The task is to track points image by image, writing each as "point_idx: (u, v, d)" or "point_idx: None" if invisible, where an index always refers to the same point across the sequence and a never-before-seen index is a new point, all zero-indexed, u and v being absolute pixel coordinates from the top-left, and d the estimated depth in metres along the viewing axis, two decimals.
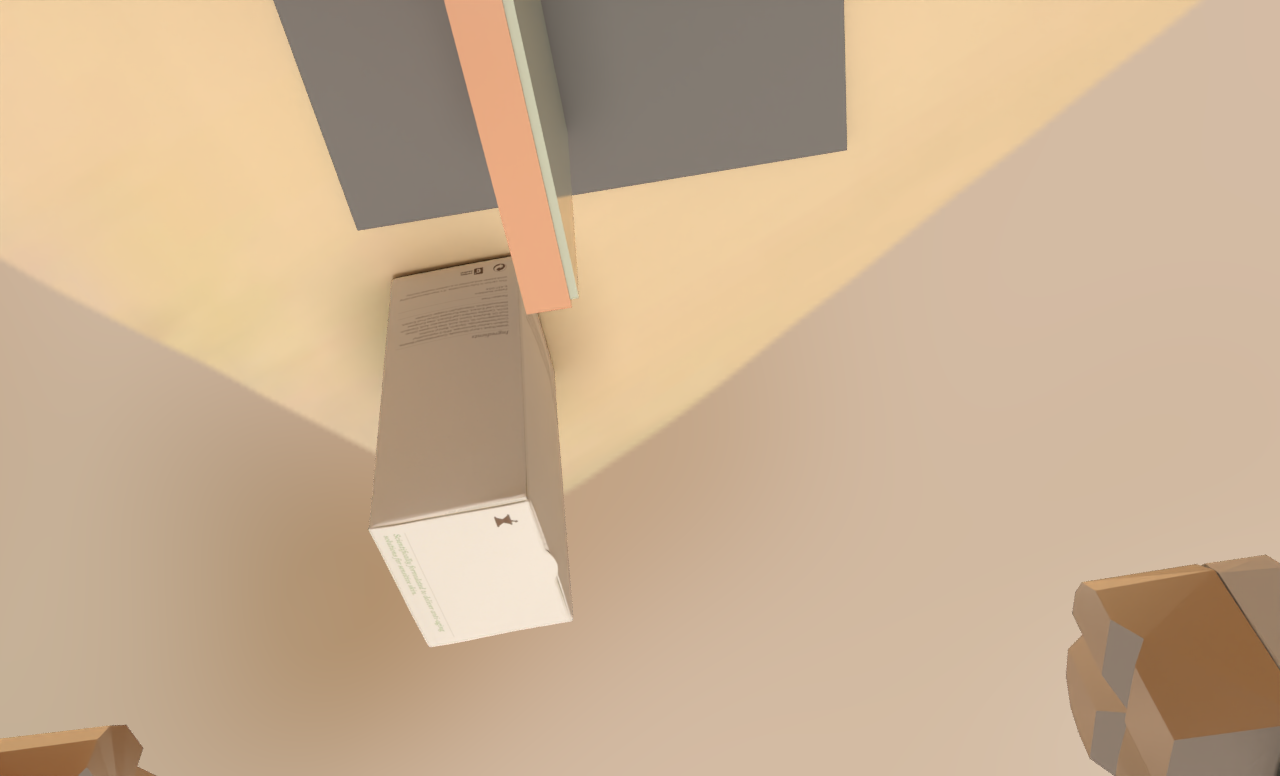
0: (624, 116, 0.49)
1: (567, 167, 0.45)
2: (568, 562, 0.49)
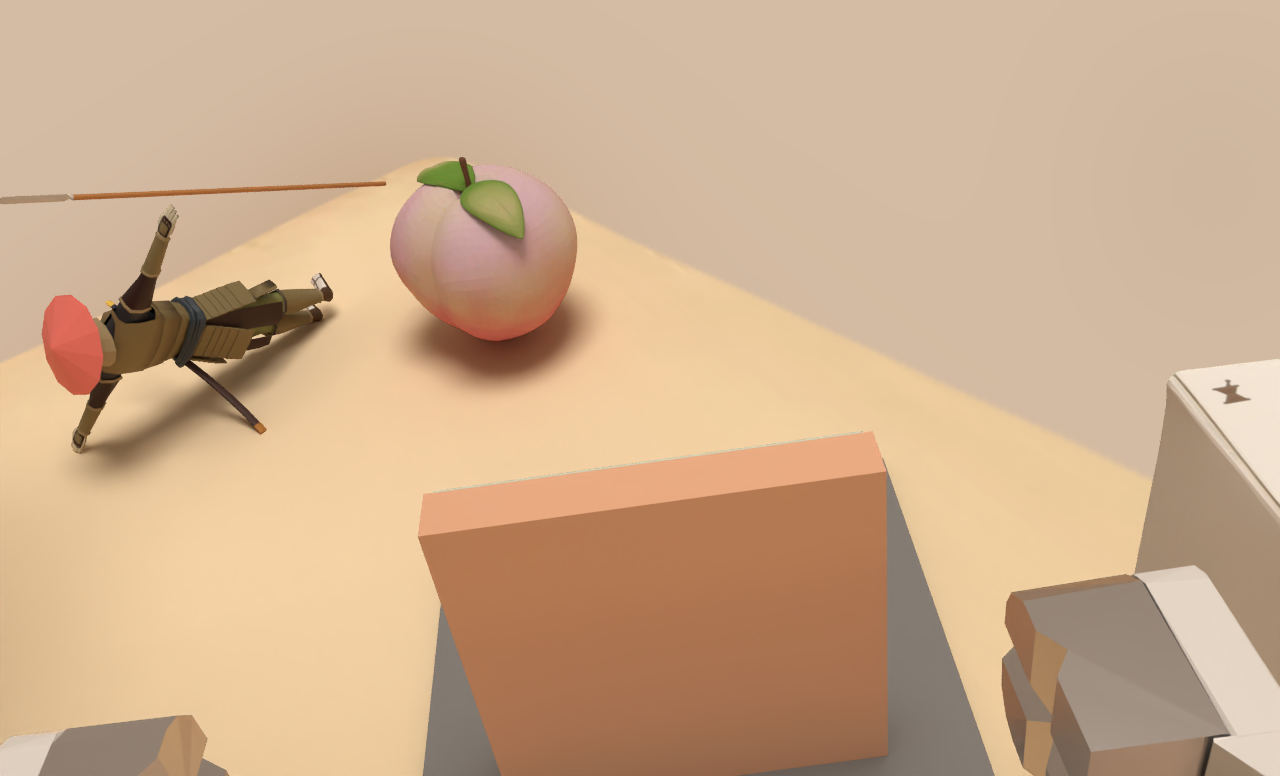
0: None
1: None
2: None
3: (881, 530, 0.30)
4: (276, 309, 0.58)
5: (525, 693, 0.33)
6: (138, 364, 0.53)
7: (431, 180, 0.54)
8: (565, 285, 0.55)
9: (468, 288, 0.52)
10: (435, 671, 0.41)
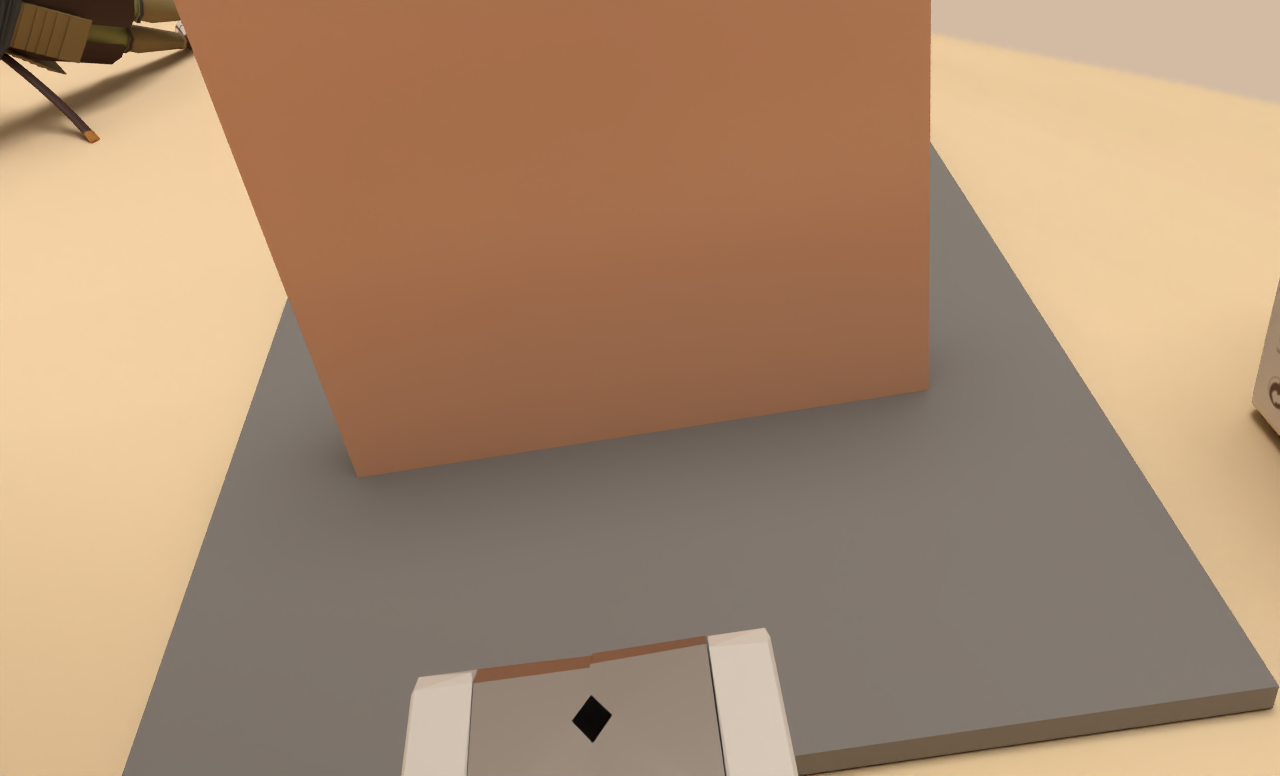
0: None
1: None
2: None
3: None
4: (126, 5, 0.46)
5: (353, 247, 0.21)
6: None
7: None
8: None
9: None
10: (273, 344, 0.29)
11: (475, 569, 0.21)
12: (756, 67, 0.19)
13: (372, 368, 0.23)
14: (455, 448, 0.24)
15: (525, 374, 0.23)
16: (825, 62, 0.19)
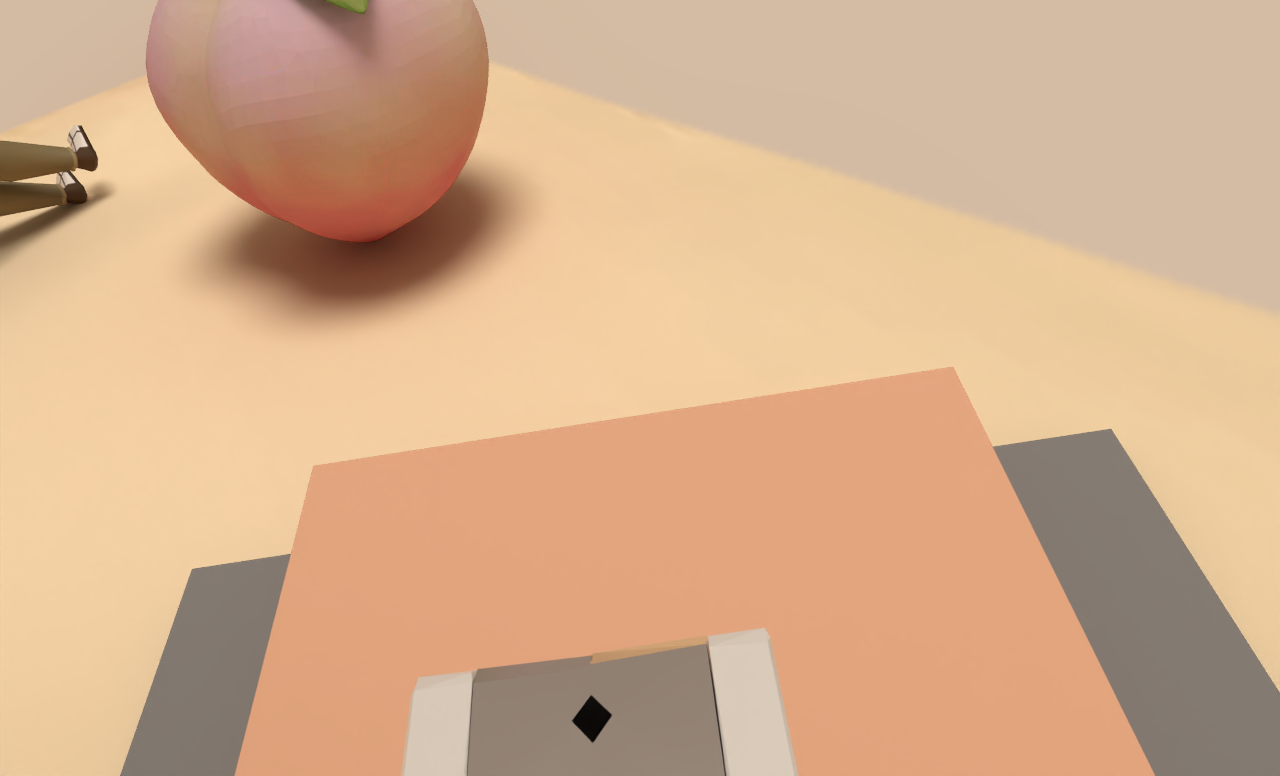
0: None
1: None
2: None
3: (979, 439, 0.20)
4: None
5: (338, 757, 0.16)
6: None
7: None
8: (464, 130, 0.30)
9: (266, 118, 0.27)
10: None
11: None
12: (845, 568, 0.18)
13: None
14: None
15: None
16: (923, 562, 0.17)
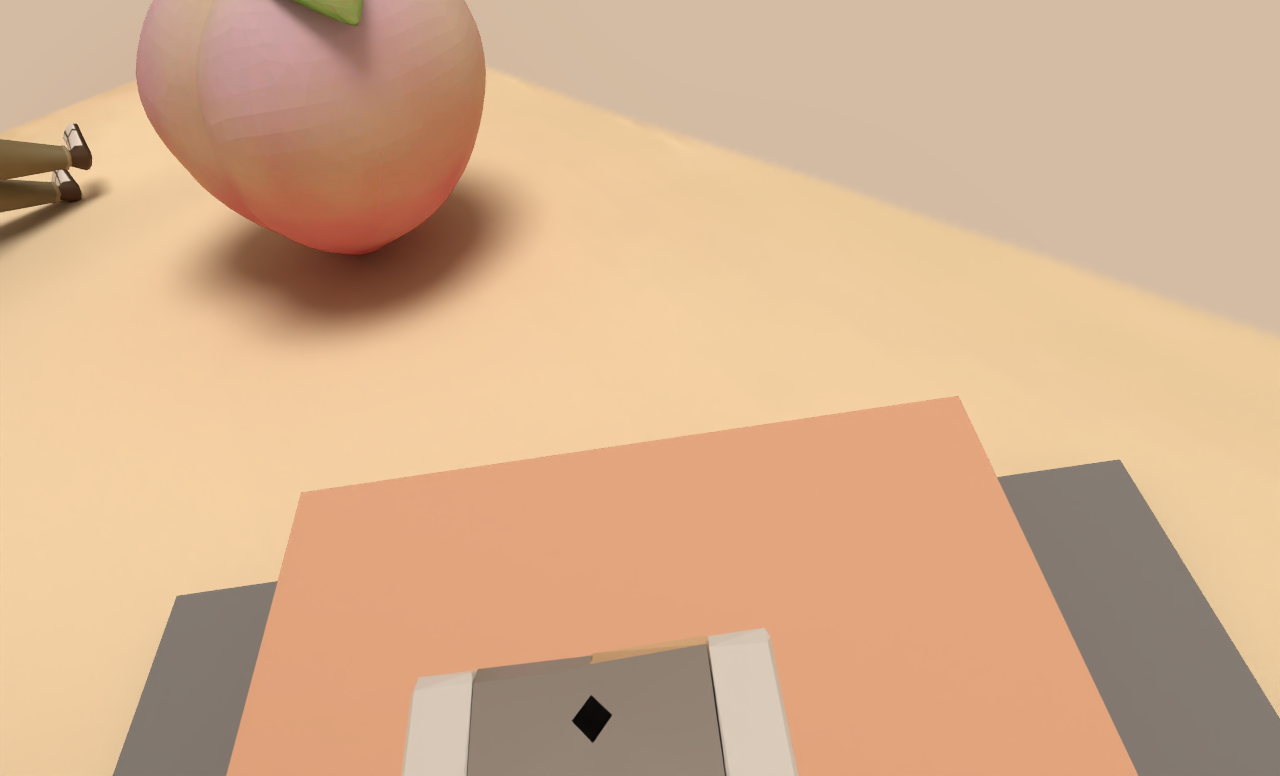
0: None
1: None
2: None
3: (985, 473, 0.19)
4: None
5: None
6: None
7: None
8: (460, 142, 0.29)
9: (258, 131, 0.26)
10: None
11: None
12: (846, 609, 0.17)
13: None
14: None
15: None
16: (927, 604, 0.17)
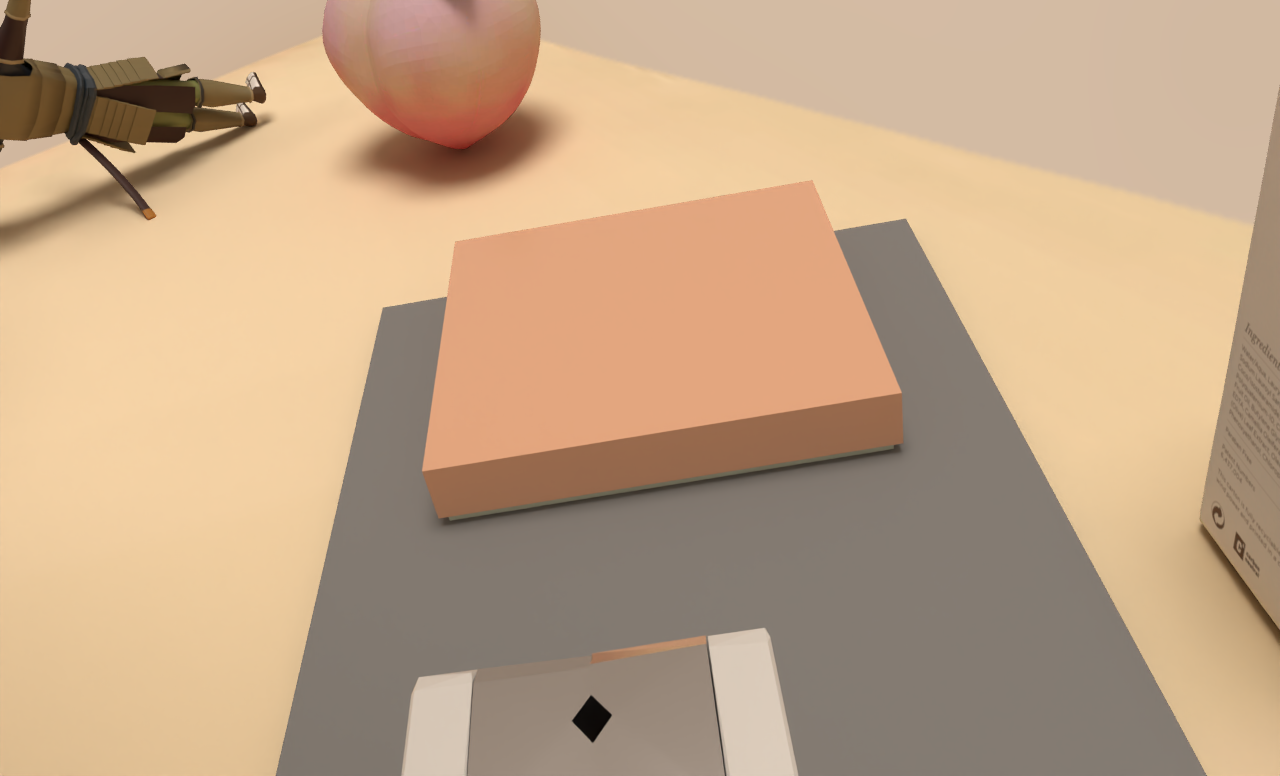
0: None
1: None
2: None
3: (820, 210, 0.36)
4: (188, 94, 0.53)
5: (489, 344, 0.33)
6: (16, 128, 0.49)
7: None
8: (526, 69, 0.47)
9: (409, 59, 0.44)
10: (351, 453, 0.33)
11: None
12: (742, 263, 0.34)
13: (470, 401, 0.31)
14: (508, 447, 0.29)
15: (577, 399, 0.30)
16: (781, 259, 0.34)
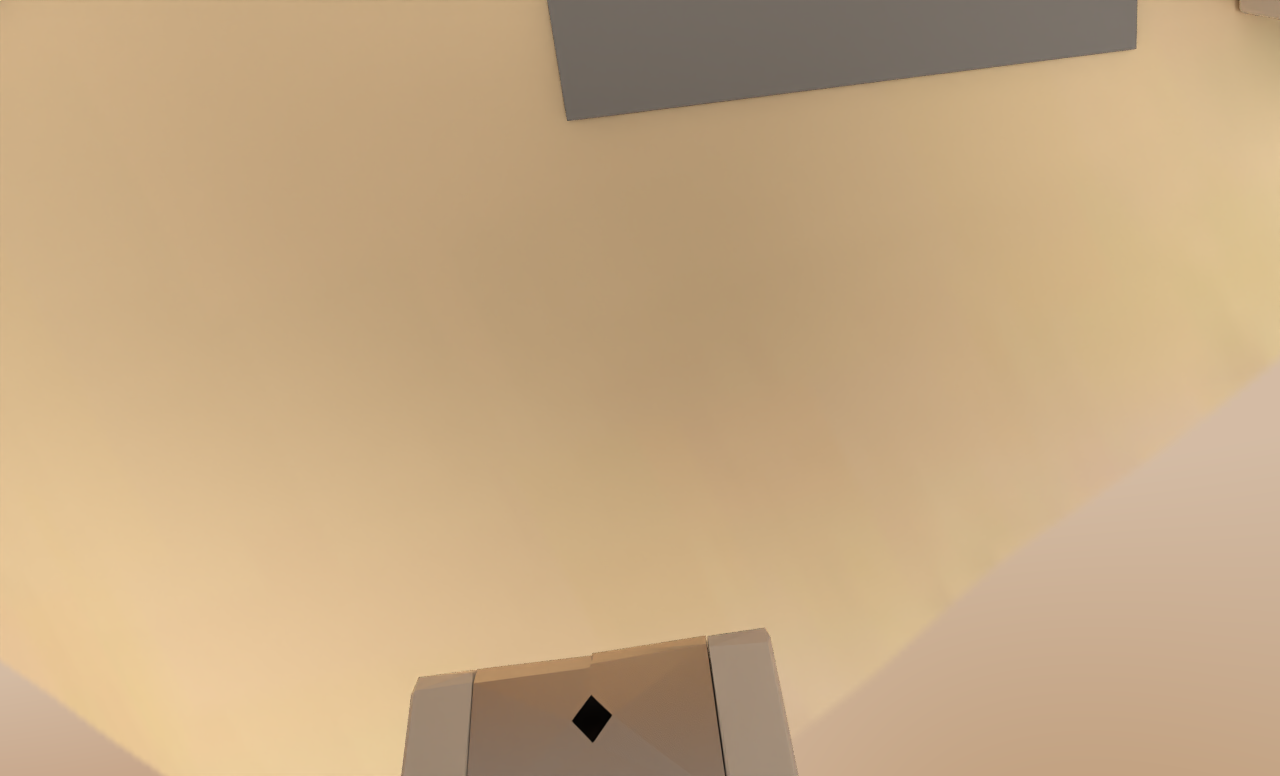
0: None
1: None
2: None
3: None
4: None
5: None
6: None
7: None
8: None
9: None
10: None
11: None
12: None
13: None
14: None
15: None
16: None
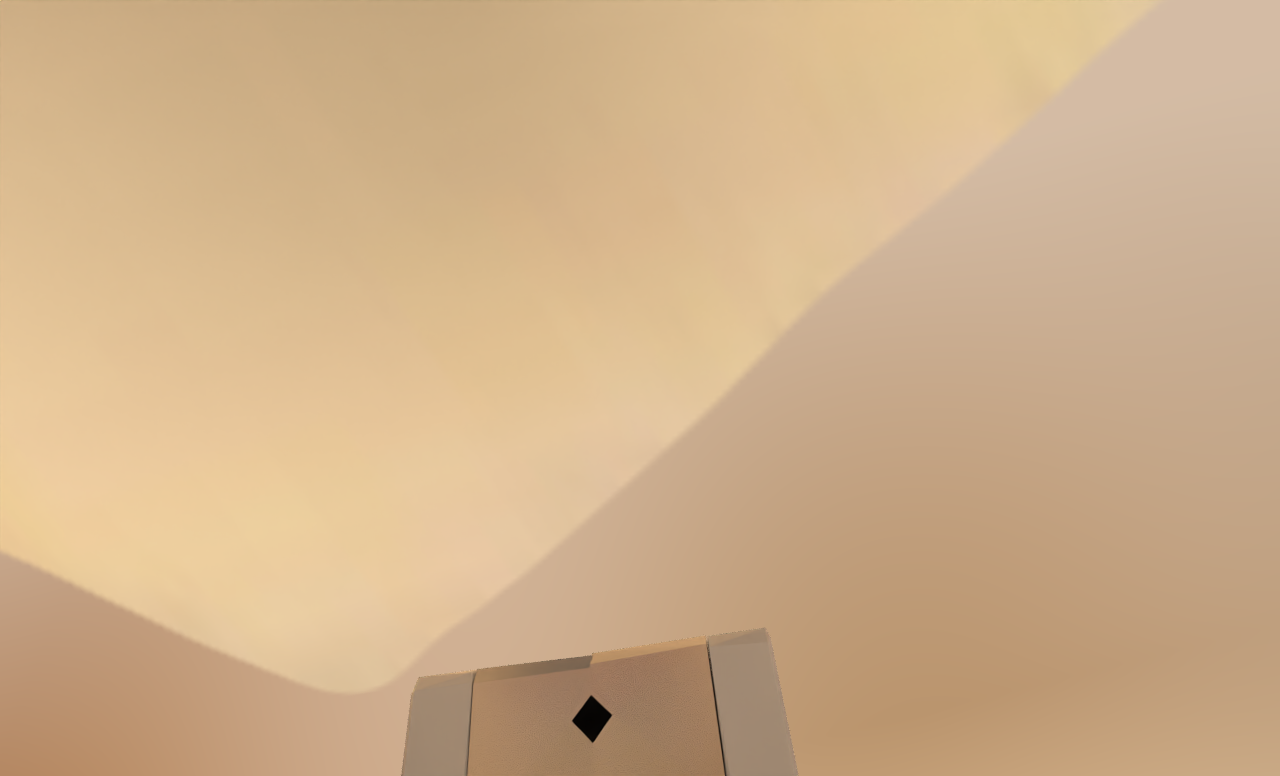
0: None
1: None
2: None
3: None
4: None
5: None
6: None
7: None
8: None
9: None
10: None
11: None
12: None
13: None
14: None
15: None
16: None
